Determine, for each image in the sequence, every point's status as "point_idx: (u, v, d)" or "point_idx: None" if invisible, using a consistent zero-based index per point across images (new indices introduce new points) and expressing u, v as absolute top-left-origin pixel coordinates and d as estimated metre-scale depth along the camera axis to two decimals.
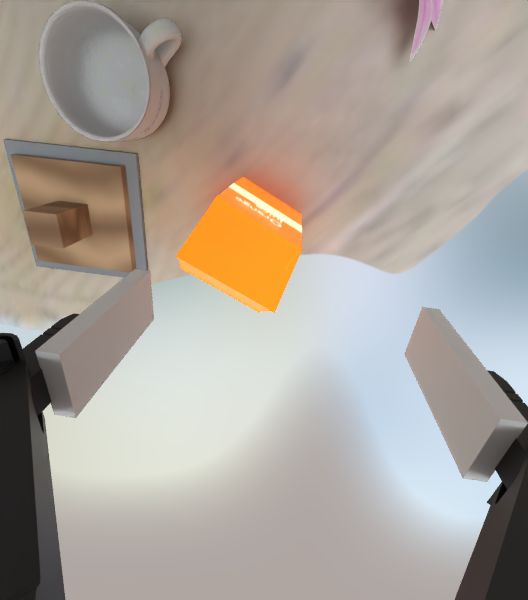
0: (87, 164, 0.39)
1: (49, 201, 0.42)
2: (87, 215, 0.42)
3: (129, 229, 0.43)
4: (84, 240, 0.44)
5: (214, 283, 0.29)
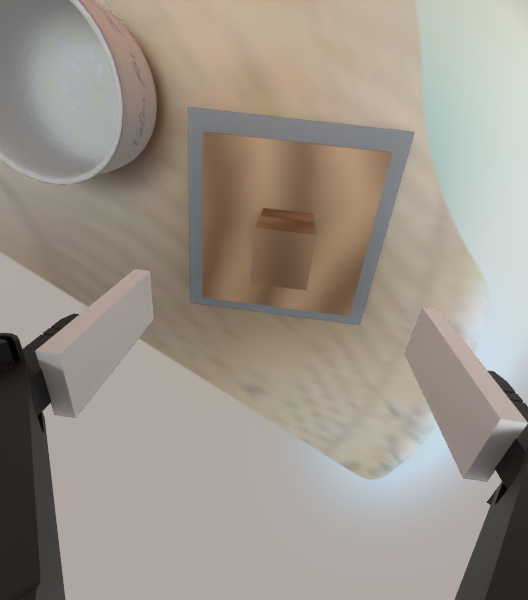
0: (204, 190, 0.26)
1: None
2: (280, 210, 0.26)
3: (308, 143, 0.24)
4: (322, 231, 0.26)
5: None
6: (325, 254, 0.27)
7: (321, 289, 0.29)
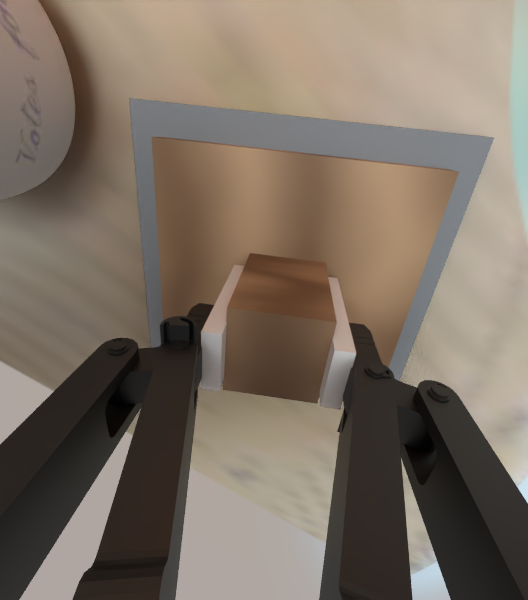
0: (159, 226, 0.17)
1: None
2: (276, 258, 0.17)
3: (320, 155, 0.15)
4: None
5: None
6: None
7: None
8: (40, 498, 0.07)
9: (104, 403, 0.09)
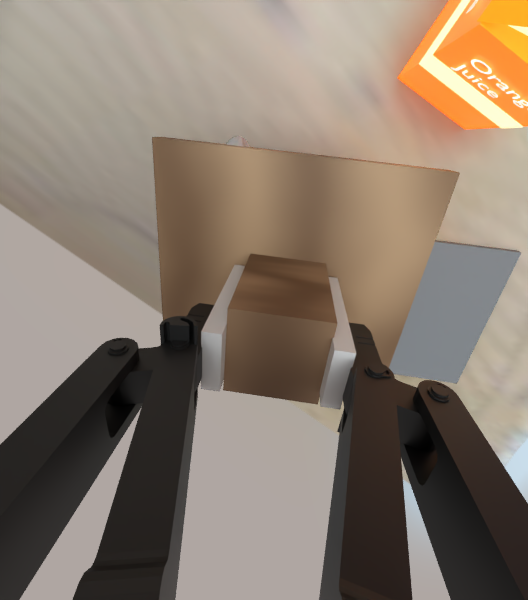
0: (160, 226, 0.17)
1: None
2: (277, 259, 0.16)
3: (321, 156, 0.15)
4: (340, 288, 0.17)
5: None
6: None
7: None
8: (40, 498, 0.07)
9: (103, 403, 0.09)
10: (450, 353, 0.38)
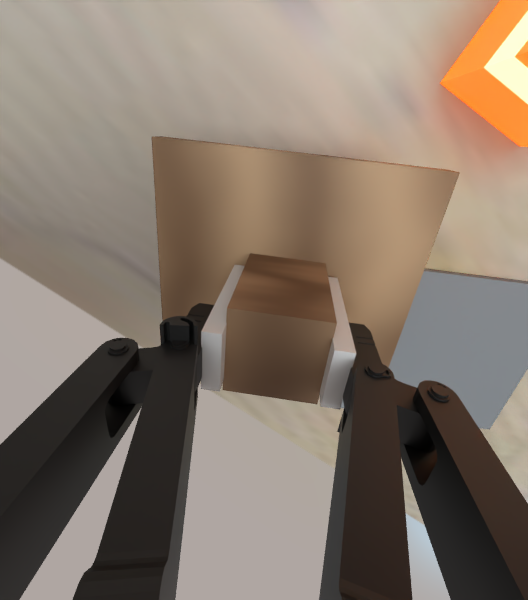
0: (159, 226, 0.17)
1: None
2: (276, 259, 0.16)
3: (321, 156, 0.15)
4: None
5: None
6: None
7: None
8: (40, 498, 0.07)
9: (103, 403, 0.09)
10: (484, 398, 0.33)
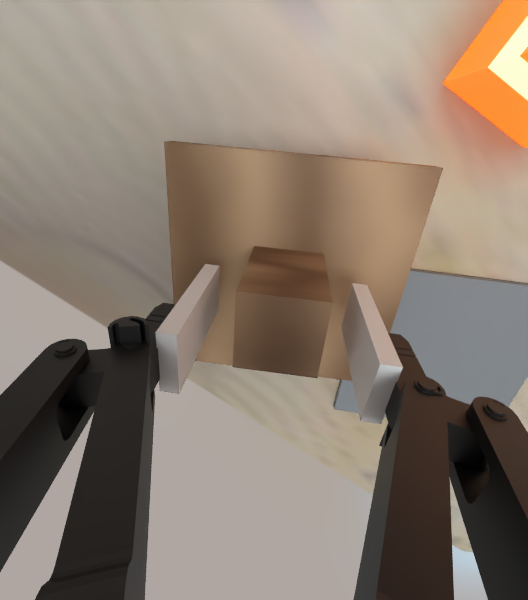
0: (171, 222, 0.18)
1: None
2: (278, 250, 0.18)
3: (317, 155, 0.16)
4: (337, 277, 0.19)
5: None
6: (341, 306, 0.20)
7: (335, 350, 0.21)
8: None
9: (53, 406, 0.09)
10: None
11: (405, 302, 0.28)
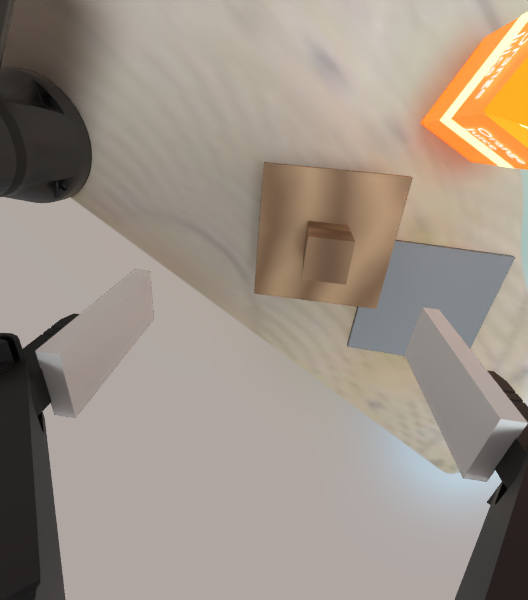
0: (262, 207, 0.33)
1: None
2: (322, 223, 0.32)
3: (345, 170, 0.31)
4: (355, 239, 0.33)
5: None
6: (357, 257, 0.34)
7: (353, 286, 0.35)
8: None
9: None
10: None
11: (398, 264, 0.42)
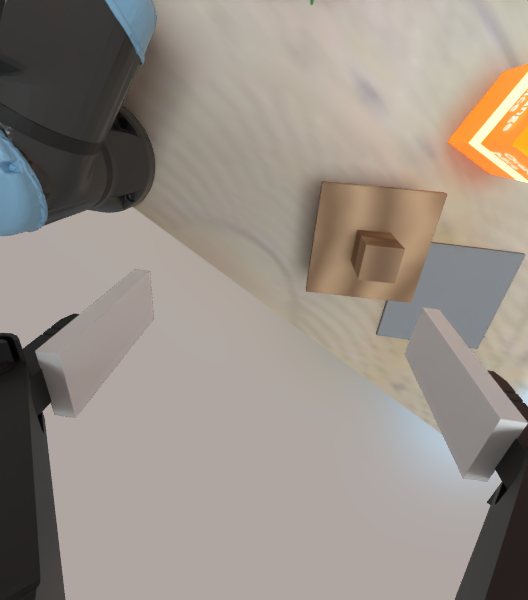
0: (318, 219, 0.39)
1: (350, 269, 0.41)
2: (369, 231, 0.38)
3: (390, 188, 0.37)
4: None
5: None
6: None
7: (392, 284, 0.41)
8: None
9: None
10: (474, 326, 0.52)
11: None
